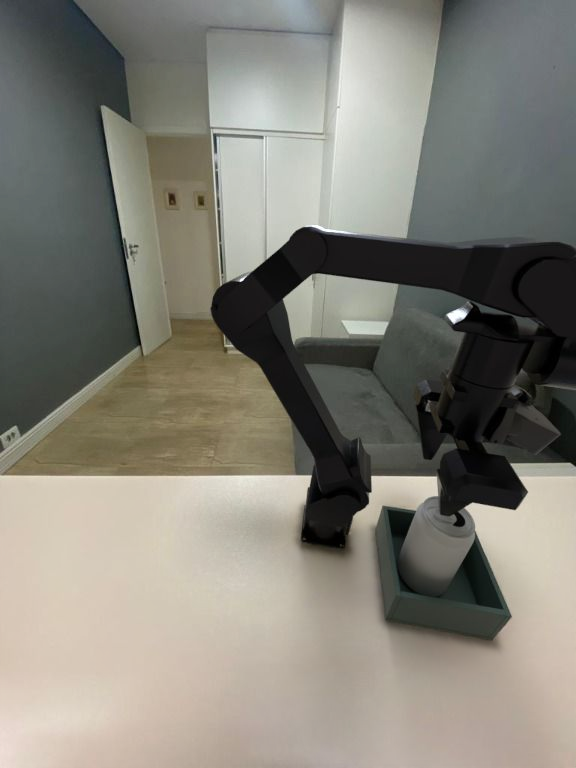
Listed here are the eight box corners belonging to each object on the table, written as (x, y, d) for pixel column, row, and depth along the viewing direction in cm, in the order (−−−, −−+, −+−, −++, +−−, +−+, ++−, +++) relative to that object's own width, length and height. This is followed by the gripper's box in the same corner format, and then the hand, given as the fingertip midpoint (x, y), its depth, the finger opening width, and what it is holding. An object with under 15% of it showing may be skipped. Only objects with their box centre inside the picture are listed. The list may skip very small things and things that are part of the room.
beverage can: (451, 606, 38) (488, 547, 32) (398, 593, 39) (424, 533, 33) (440, 556, 44) (469, 498, 38) (393, 546, 44) (415, 488, 39)
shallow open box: (385, 619, 37) (395, 595, 34) (375, 529, 47) (382, 505, 45) (492, 640, 36) (512, 616, 33) (457, 542, 46) (470, 518, 43)
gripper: (646, 448, 22) (544, 571, 30) (522, 350, 38) (476, 446, 46) (482, 424, 24) (424, 548, 31) (429, 339, 40) (399, 434, 47)
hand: (435, 484), depth 39 cm, fingers open, 9 cm apart
